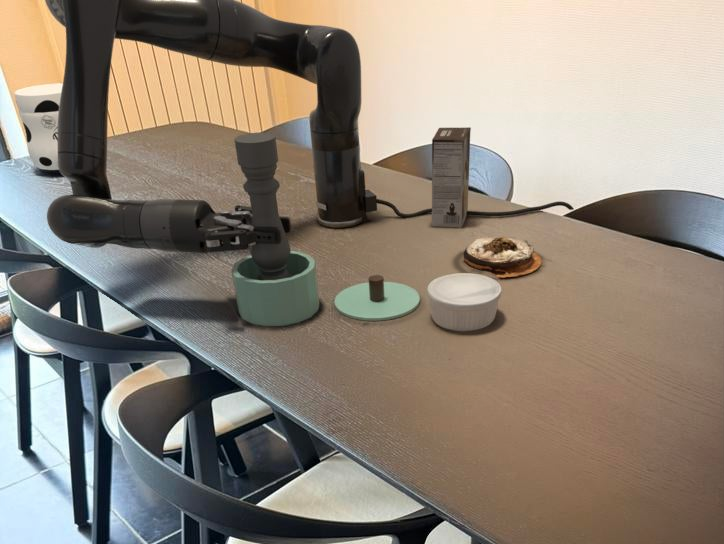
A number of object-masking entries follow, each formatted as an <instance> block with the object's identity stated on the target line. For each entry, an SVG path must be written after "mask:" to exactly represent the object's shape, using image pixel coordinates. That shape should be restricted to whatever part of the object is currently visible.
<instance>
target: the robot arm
mask: <svg viewBox="0 0 724 544" xmlns="http://www.w3.org/2000/svg"><path fill="white" fill-rule="evenodd" d="M44 1H45V5H46V7H47V9H48V10H49V13H50V14H51V15H52V17H54V19H55V20H56V21H57V22H58V23H59V24H60V25H61V26H63V27H64V28H65V39H66V40H65V64H64V72H63V80H62V83H63V86H62V92H61V98H60V104H59V113H58V154H57V155H58V168H59V171H60V173H59V174H60V175H62V176H63V177H64V178H65V179H66V180H67V181H68V182H69V184H70V187H71V192H72V194H64V195H61V196H58V197H56V198H55V199H54V200H53V201H52V202H51V203H50V205H49V206H48V208H47V210H46V211H47V212H46V221H47V225H48V227H49V229H50V230H51V232H52V234H54V236H56V237H57V238H58V239H59V240H61V241H62V242H65V243H67V244H71V245H75V246H81V247H86V248H90V249H91V248H92V249H99V248H103V247H105V246H106V245H115V246H120V247H125V248H130V249H141V250H142V249H143V250H145V249H147V250H157V251H163V252H169V253H170V252H173V253H192V254H193V253H194V254H209V253H219V252H229V251H230V252H231V251H245V250H248V249H250V245H256V244H257V243H268V244H280V243H281V241H282V233H281V229H280V228H279V227H256V228H255V227H254V226H252V210H251V206H246V205H240V204H237V205H234V211H232V210H231V209H227V210H226V209H225V210H224V209H223V210H220V211H219V212H215V210H214V209H213V208H212V206H211V204H210V203H209V202H207V201H206V200H203V199H182V198H181V199H180V198H179V199H178V198H177V199H176V198H158V199H113V198H112V193H111V186H110V184H109V179H108V174H107V167H108V163H107V162H108V121H109V119H108V117H109V114H108V113H109V93H110V92H109V91H110V79H111V69H112V68H111V67H112V59H113V51H114V44H115V40H124V41H131V42H138V43H143V44H147V45H150V46H153V47H157V48H161V49H164V50H167V51H171V52H175V53H179V54H181V55H186V56H190V57H194V58H198V59H201V60H205V61H209V62H213V63H219V64H222V65H229V66H234V67H245V68H270V69H274V70H277V71H280V72H281V71H282V72H285V73H287V74H290V75H293V76H295V77H298V78H301V79H303V80H305V81H307V82H309V83H312V84H314V85H316V100H317V101H316V102H317V103H316V107H315V108H314V109H313V110H311V111H310V112H309V118H308V120H309V132H310V141H311V142H310V143H311V152H312V162H313V172H314V182H315V195H316V201H315V207H316V208H317V221H318V223H319V224H320V225H321V226H323V227H326V228H337V229H338V228H339V229H340V228H349V227H353V226H357V225H359V224H361V223H363V222H367V221H368V215H367V213H372V212H377V211H378V204H379V205H384V206H386V207H389V209H390V208H391V209H392V211H393V212H394V213H395V214H396V216H398V217H400V218H402V219H409V218H415V217H419V216H423V215H425V214H430V213H432V207H431V208H425V209H422V210H420V211H417V212H413V213H403V212H400V210H399V209H398V208H397V206H396V205H394V204H393V203H392V202H389V201H387V200H383V199H379V198H377V195H376V194H375V193H374V192H373V191H371V190H370V189H366V175H365V171H364V169H362V168H361V167H362V166H361V150H360V149H361V148H360V131H359V117H360V113H361V110H362V61H361V53H360V49H359V45H358V43H357V41H356V39H355V37H354V36H353V35H352V33H350V32H349V31H348V30H345V29H343V28H339V27H333V26H328V25H321V24H306V23H297V22H292V21H291V22H289V21H285V20H280V19H276V18H273V17H271V16H269V15H267V14H265V13H264V12H262V11H260V10H258V9H256V8H255V7H252V6H250V5H248V4H245V3H243V2H241V1H239V0H44ZM559 206H561V207H565V208H567V209H568V210H569V211H574V210H575V208H574V207H573V206H572V205H571V204H569V203H568V202H565V201H554V202H550V203H547V204H543V205H538V206H531V207H526V208H521V209H517V210H516V209H515V210H508V211H507V210H506V211H476V210H475V211H473V210H468V211H467V213H466V216H474V217H476V216H477V217H508V216H515V215H520V214H525V213H531V212H538V211H543V210H546V209H550V208H553V207H559ZM279 217H280V220H281V223H282V225H283V228H284V231H285V234H289V233H290V232H291V231H292V222H291V218H290V217H289V216H281V215H279Z"/></svg>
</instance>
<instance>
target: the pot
mask: <svg viewBox="0 0 724 544" xmlns="http://www.w3.org/2000/svg"><path fill="white" fill-rule="evenodd" d="M286 264H287V267H286V270H287V271H288V273H289V274H291V276H292V277H289V278H284V279H279V280H263V281H261V280H256V279H257V278H258V275H259V273H260V272H261V271H260V270H259V269H258V265H257V264H256V263H255V262H254V260H253V258H252V256H251V254H250V255H247V256H244V257H242V258H240V259H239V260H237V261H236V262H235V263H234V264H233V266H232V268H231V271H230V272H231V277H232V282H233V289H234V292H235V293H234V294H235V299H236V303H237V304H236V305H237V310H238V314H239V315H240V317H241V319H242V320H243V321H245V322H248V323H250V324H252V325H257V326H262V327H284V326H289V325H293V324H297V323H301V322H303V321H305V320H308V319H310V318H312V317H313V316H314V315H315V314H316V313H317V312H318V311H319V310H320V308H319V307H320V302H321V301H320V294H319V284H318V274H317V264H316V260H315V259H314V258H313V257H312V256H311V255H310V254H307V253H304V252H302V251H296V250H291V252H290V256H289V259H288V261H287V263H286Z"/></svg>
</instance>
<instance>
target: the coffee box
mask: <svg viewBox="0 0 724 544" xmlns="http://www.w3.org/2000/svg"><path fill="white" fill-rule="evenodd" d="M471 130H472V127H438V129H437V130H436V132H435V134H434V136H433V137H432V139H431V208H432V212H431V227H432V228H433V227H434V228H435V227H438V228H440V227H441V228H462V227H463V226H464V223H465V221H466V218H467V215H466V213H467V211H469V209H468V208H469V185H470V182H469V180H470V155H471V154H470V151H471Z"/></svg>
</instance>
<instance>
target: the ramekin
mask: <svg viewBox="0 0 724 544" xmlns="http://www.w3.org/2000/svg"><path fill="white" fill-rule="evenodd" d="M502 290H503V289H502V286H501V284H500V283H499V282H498V281H497V280H496V279H494V278H492V277H490V276H487V275H483V274H478V273H477V274H476V273H469V272H459V273H457V272H456V273H451V274H446V275H442V276H439V277H437V278H435V279H433V280H432V281H431V282H430V283H429V284H428V286H427V290H426V291H427V298H428V299H429V307H430V313H431V319H432V320H433V322H434V323H435V324H436V325H437V326H439V327H441V328H443V329H446V330H449V331H456V332H472V331H477V330H481V329H484V328H486V327H488V326H490V325H491V324H492V323H493V322H494V320H495V318H496V315H497V310H498V305H499V301H500V299H501V297H502V293H503V291H502Z"/></svg>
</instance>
